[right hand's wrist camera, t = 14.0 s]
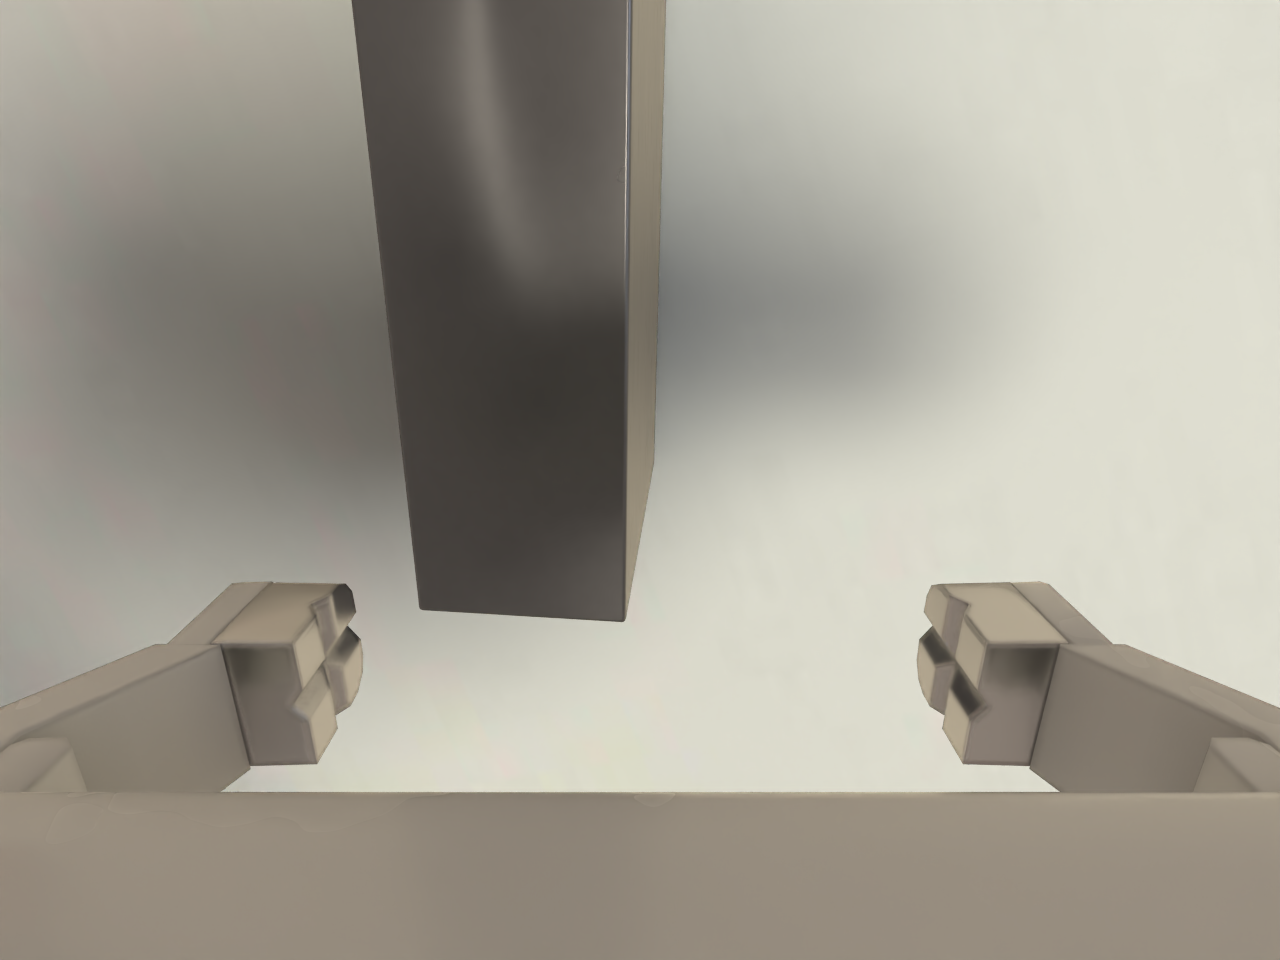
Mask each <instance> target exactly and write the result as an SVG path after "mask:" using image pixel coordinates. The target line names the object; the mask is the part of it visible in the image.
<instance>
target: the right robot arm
mask: <svg viewBox="0 0 1280 960" xmlns="http://www.w3.org/2000/svg"><path fill="white" fill-rule="evenodd" d="M355 613H356V609H355V604H354V599H353V594H352V591H351V589H350V588H349V587H348V586H347V585H346V584H336V583H282V582H277V583H273V582H241V583H232V584H231V585H230V586H229V587H228V588H227V589H226V590H224V591H223V592H222V593H221V594H220V595H219V596H218V597H217V598H216V599H215V600H214V601H213V602H212V603H211V604H210V605H208V606H207V607H206V608H205V609H204V610H203V611H202V612H201V613H200V614H199V615H198V616H197V617H196V618H195V619H193V620H192V621H191V622H190V623H189V624H188V625H187V626H186V627H185V628H184V629H183V630H182V631H181V632H180V633H178V634H177V635H176V636H175V637H174V638H173V639H172V640H171V641H170V642H169V643H168V644H155V645H152V646H150V647H147V648H145V649H143V650H140V651H138V652H135V653H133V654H130V655H128V656H125V657H123V658H121V659H118V660H116V661H113V662H111V663H108V664H106V665H104V666H101V667H99V668H96V669H94V670H91V671H89V672H86V673H84V674H82V675H79V676H77V677H74V678H72V679H69V680H67V681H65V682H62V683H60V684H57V685H55V686H52V687H50V688H47V689H45V690H43V691H40V692H38V693H35V694H33V695H30V696H28V697H26V698H23V699H21V700H18V701H16V702H13V703H11V704H9V705H6V706H4V707H1V708H0V960H1280V708H1278V707H1276V706H1274V705H1271V704H1269V703H1266V702H1264V701H1261V700H1259V699H1257V698H1254V697H1252V696H1249V695H1247V694H1244V693H1242V692H1240V691H1237V690H1235V689H1232V688H1230V687H1227V686H1225V685H1222V684H1220V683H1218V682H1215V681H1213V680H1210V679H1208V678H1205V677H1203V676H1201V675H1198V674H1196V673H1193V672H1191V671H1188V670H1186V669H1184V668H1181V667H1179V666H1176V665H1174V664H1171V663H1169V662H1167V661H1164V660H1162V659H1159V658H1157V657H1154V656H1152V655H1150V654H1147V653H1145V652H1142V651H1140V650H1137V649H1135V648H1133V647H1130V646H1128V645H1125V644H1112V643H1111V642H1110V641H1109V640H1108V639H1107V638H1106V637H1105V636H1104V635H1103V634H1102V633H1101V632H1099V631H1098V630H1097V629H1096V628H1095V627H1094V626H1093V625H1092V624H1091V623H1090V622H1089V621H1088V620H1087V619H1086V618H1085V617H1083V616H1082V615H1081V614H1080V613H1079V612H1078V611H1077V610H1076V609H1075V608H1074V607H1073V606H1072V605H1071V604H1070V603H1069V602H1067V601H1066V600H1065V599H1064V598H1063V597H1062V596H1061V595H1060V594H1059V593H1058V592H1057V591H1056V590H1055V589H1054V588H1053V587H1051V586H1050V585H1049V584H1046V583H1043V582H1040V581H1038V582H1015V583H1010V582H1001V583H960V584H937V585H931V588H930V590H929V592H928V594H927V597H926V603H925V608H924V613H925V614H926V616H927V618H928V619H929V621H930V622H931V624H932V625H933V626H932V627H931V628H930V629H929V630H928V631H927V632H926V633H925V634H924V635H923V636H922V637H921V638H920V639H919V646H918V654H917V668H918V679H919V683H920V686H921V689H922V692H923V695H924V697H925V698H926V700H927V702H928V704H929V706H930V707H932V708H934V709H935V710H937V711H938V712H940V713H941V714H943V715H945V716H944V722H943V728H942V729H943V730H944V732H945V734H946V736H947V737H948V739H949V741H950V743H951V744H952V746H953V748H954V749H955V751H956V753H957V755H958V756H959V758H960V760H961V762H962V763H963V764H977V765H1014V766H1030V768H1029V769H1030V770H1032V771H1033V772H1034V773H1036V774H1037V775H1038V776H1040V777H1041V778H1042V779H1044V780H1045V781H1046V782H1048V783H1049V784H1050V785H1052V786H1053V787H1054V788H1056V789H1057V790H1058V791H1060V792H221V791H222V790H223V789H225V788H226V787H227V786H229V785H230V784H231V783H233V782H234V781H235V780H237V779H238V778H239V777H241V776H242V775H243V774H245V773H246V772H247V771H249V770H250V766H265V765H301V764H317V763H318V762H319V760H320V758H321V756H322V755H323V753H324V751H325V750H326V748H327V746H328V744H329V743H330V741H331V739H332V737H333V736H334V734H335V732H336V730H337V729H338V728H337V722H336V716H335V715H337V714H339V713H340V712H342V711H343V710H345V709H346V708H348V707H350V706H351V704H352V702H353V700H354V698H355V696H356V695H357V693H358V690H359V686H360V681H361V677H362V673H363V652H362V645H361V639H360V638H359V637H358V636H357V635H356V634H355V633H354V632H353V631H352V630H351V629H350V628H349V627H348V626H347V625H348V624H349V622H350V621H351V619H352V618H353V616H354V614H355Z"/></svg>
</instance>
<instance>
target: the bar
mask: <svg viewBox="0 0 1280 960" xmlns="http://www.w3.org/2000/svg"><path fill="white" fill-rule="evenodd" d="M352 8H353V17H354V26H355V35H356V44H357V53H358V62H359V71H360V80H361V89H362V98H363V107H364V116H365V124H366V133H367V142H368V151H369V160H370V169H371V178H372V187H373V196H374V205H375V214H376V223H377V232H378V241H379V250H380V259H381V268H382V277H383V286H384V295H385V304H386V312H387V321H388V330H389V339H390V348H391V357H392V366H393V375H394V384H395V393H396V402H397V411H398V420H399V429H400V438H401V447H402V456H403V465H404V474H405V483H406V492H407V500H408V509H409V518H410V527H411V536H412V545H413V554H414V563H415V572H416V581H417V590H418V599H419V607H420V609H421V610H431V611H448V612H465V613H481V614H498V615H515V616H531V617H548V618H565V619H581V620H598V621H615V622H623V621H625V619H626V615H627V609H628V603H629V598H630V592H631V587H632V581H633V576H634V570H635V565H636V559H637V554H638V548H639V543H640V537H641V532H642V526H643V521H644V515H645V510H646V504H647V499H648V493H649V488H650V482H651V476H652V471H653V465H654V441H655V402H656V364H657V325H658V287H659V248H660V210H661V172H662V133H663V95H664V56H665V18H666V0H352Z"/></svg>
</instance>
